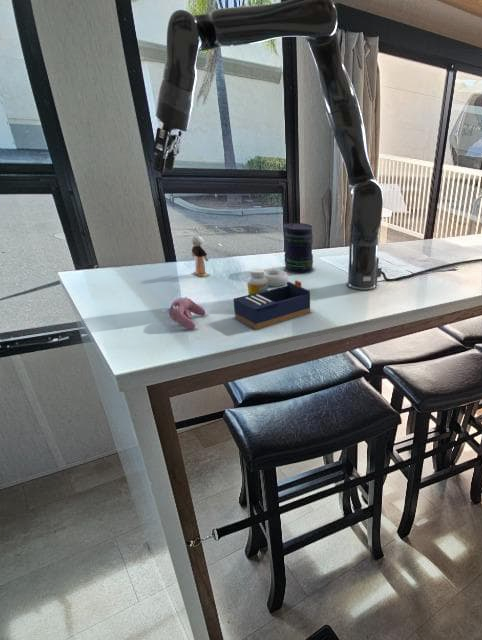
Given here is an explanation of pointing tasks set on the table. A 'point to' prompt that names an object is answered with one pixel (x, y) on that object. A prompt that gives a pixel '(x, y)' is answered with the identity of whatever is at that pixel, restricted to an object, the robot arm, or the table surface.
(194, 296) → the table surface
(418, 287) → the table surface
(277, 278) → the donut
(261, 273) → the supplement bottle
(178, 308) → the video game controller
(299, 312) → the navy storage tray
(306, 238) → the storage jar
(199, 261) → the grandmother figurine
